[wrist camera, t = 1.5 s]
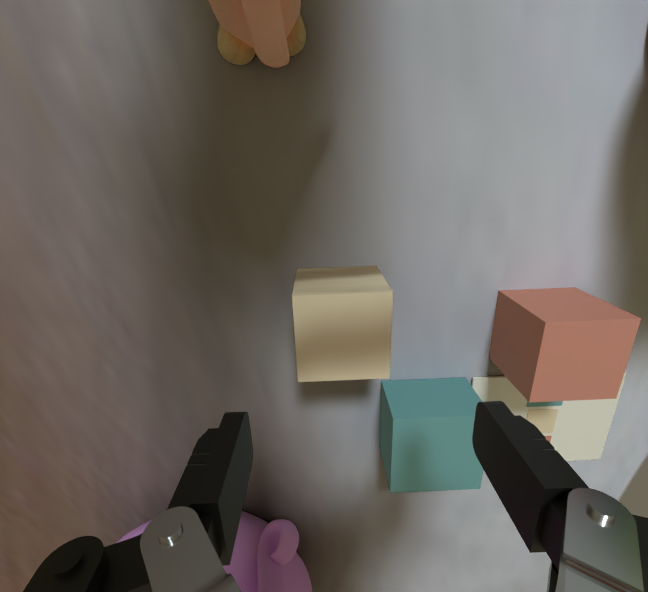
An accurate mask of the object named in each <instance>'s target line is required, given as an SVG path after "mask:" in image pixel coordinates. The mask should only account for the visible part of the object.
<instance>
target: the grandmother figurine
mask: <svg viewBox="0 0 648 592" xmlns="http://www.w3.org/2000/svg"><path fill="white" fill-rule="evenodd" d="M208 1H209V3H210V5H211V8H212V10H213V12H214V14H215V16H216V18H217V20H218V22H219V30H218V36H217V45H218V49H219V52H220V54H221V55H222V57H223V58H224V59H225V60H226V61H228V62H229V63H232V64H236V65H244V64H247V63H249V62H250V61H251V60H252V59H253V58H254V56H255V53H256V55H257V56H258V58H259V59H260V60H261V62H262V63H264V64H265V65H267V66H270V67H273V68H279V67H282V66H285V65H287V64H288V63H289V61H290V57H289V56H294V55H296V54H298V53H299V52H300V51H301V50H302V49H303V47H304V45H305V42H306V30H305V26H304V23H303V20H302V17H301V14H300V8H301V0H208Z"/></svg>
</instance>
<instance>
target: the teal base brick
mask: <svg viewBox="0 0 648 592" xmlns="http://www.w3.org/2000/svg"><path fill="white" fill-rule="evenodd" d="M478 402H483V401H482V400H481V399H480V397H479V396H478V394H477V393H476V392H475V390H474V389H473V387H472V386H471V385H470V383H469V382H468V381H467V379H466V378H442V379H419V380H395V381H381V417H380V451H381V455H382V460H383V464H384V468H385V473H386V477H387V481H388V486H389V490H390V493H397V492H419V491H441V490H462V489H480V486H481V480H482V474H483V468H482V466H481V464H480V462H479V460H478V459H477V457H476V455H475V452H474V449H473V443H472V435H473V428H474V420H475V412H476V406H477V403H478Z"/></svg>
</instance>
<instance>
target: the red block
mask: <svg viewBox="0 0 648 592" xmlns="http://www.w3.org/2000/svg"><path fill="white" fill-rule="evenodd" d="M640 321H641V318H639V317H637V316H635V315H633V314H631V313H629V312H626V311H624V310H622V309H620V308H618V307H616V306H614V305H611V304H609V303H607V302H605V301H603V300H601V299H599V298H596V297H594V296H592V295H590V294H588V293H586V292H584V291H581V290H579V289H577V288H550V289H525V290H500V291H499V292H498V298H497V305H496V312H495V319H494V325H493V332H492V339H491V345H490V352H489V359H490V360H491V361H492V362H493V363H494V364H495V365H496V366H497V368H498V369H499V370H500V371H501V372H502V373H503V374H504V375H505V376H506V378H507V379H508V380H509V381H510V382H511V383H512V384H513V385H514V386H515V387H516V389H517V390H518V391H519V392H520V393H521V394H522V395H523V396H524V397H525V398H526V400H527V401H528V402H551V401H574V400H596V399H616V398H617V395H618V391H619V388H620V385H621V382H622V379H623V376H624V372H625V369H626V366H627V363H628V360H629V356H630V353H631V350H632V347H633V344H634V340H635V337H636V334H637V331H638V328H639V324H640Z"/></svg>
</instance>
